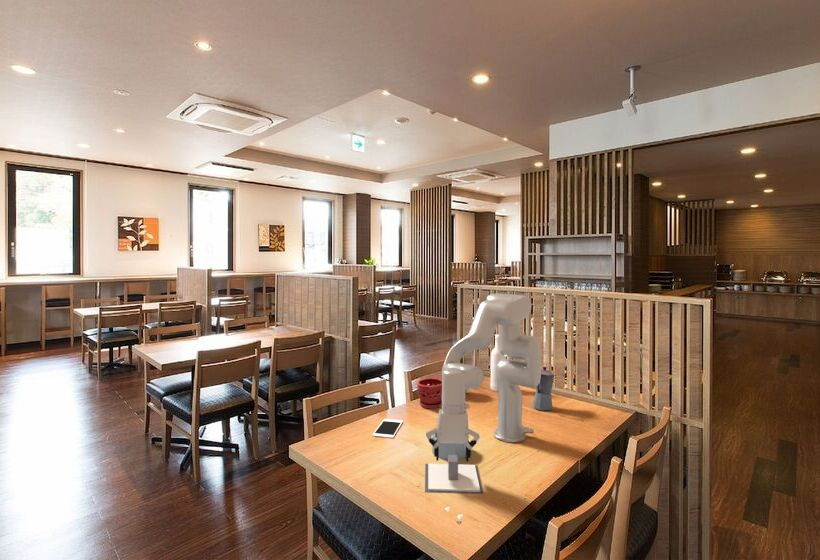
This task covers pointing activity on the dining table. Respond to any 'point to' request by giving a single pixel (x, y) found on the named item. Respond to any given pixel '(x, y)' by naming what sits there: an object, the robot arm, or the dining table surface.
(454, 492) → the mat
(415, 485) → the dining table surface
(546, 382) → the moka pot
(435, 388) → the plant pot
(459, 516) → the acanthus leaf ornament
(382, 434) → the cell phone
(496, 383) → the bottle
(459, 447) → the bowl
